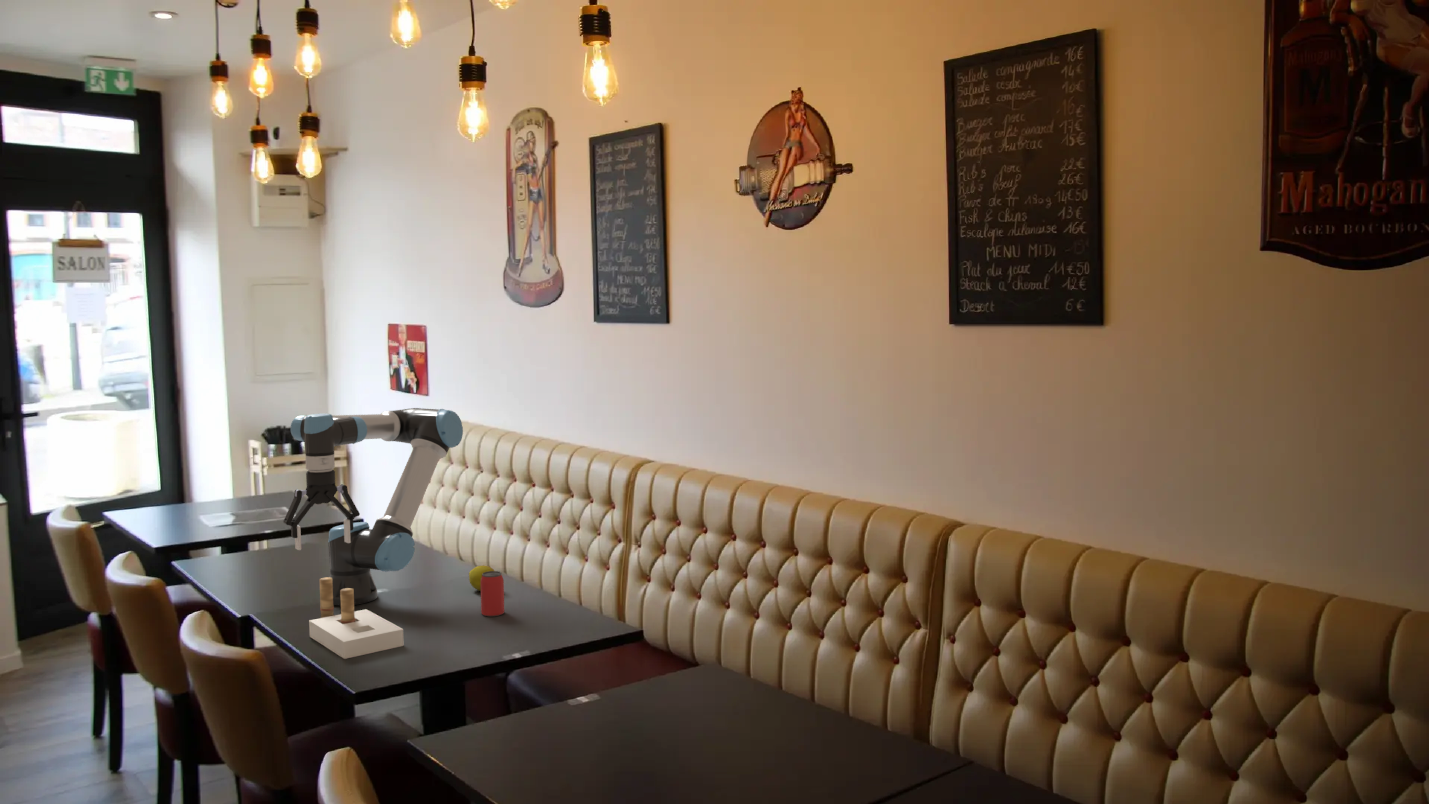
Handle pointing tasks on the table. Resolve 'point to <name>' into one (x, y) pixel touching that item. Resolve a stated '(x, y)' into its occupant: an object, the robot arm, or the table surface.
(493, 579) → the beer can
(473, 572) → the lemon
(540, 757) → the table surface
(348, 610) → the seated peg
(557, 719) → the table surface
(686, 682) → the table surface
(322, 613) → the honey-oak peg
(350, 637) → the off-white board
